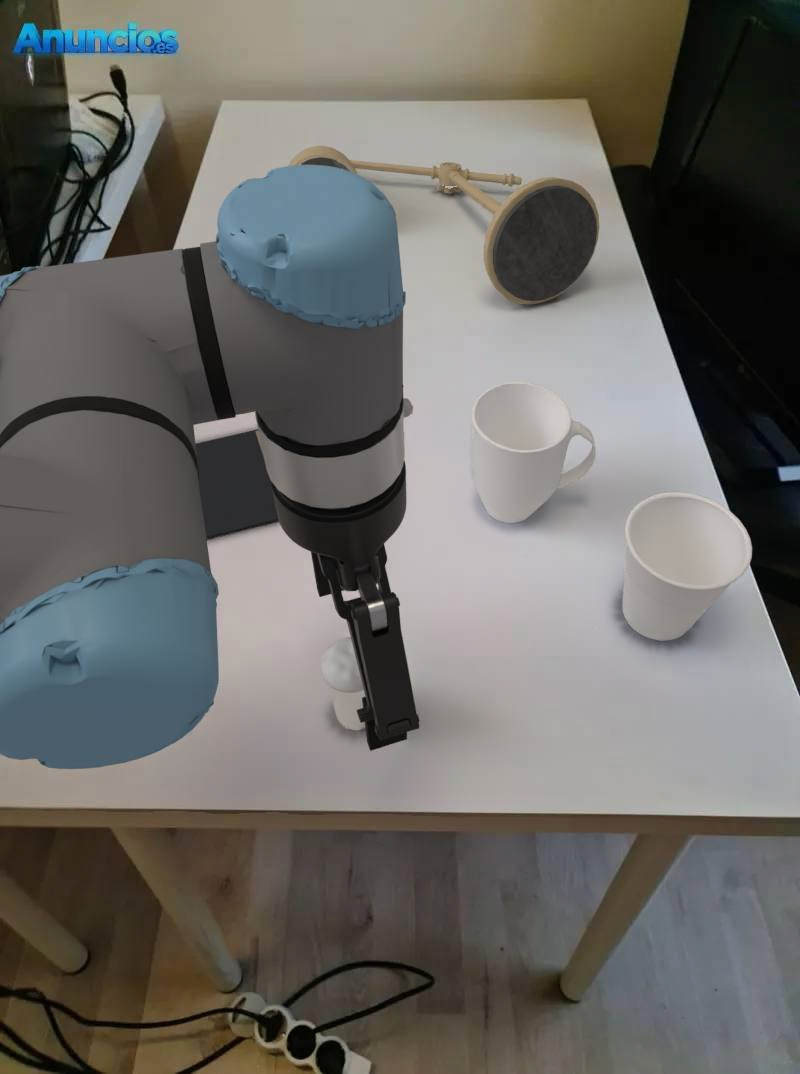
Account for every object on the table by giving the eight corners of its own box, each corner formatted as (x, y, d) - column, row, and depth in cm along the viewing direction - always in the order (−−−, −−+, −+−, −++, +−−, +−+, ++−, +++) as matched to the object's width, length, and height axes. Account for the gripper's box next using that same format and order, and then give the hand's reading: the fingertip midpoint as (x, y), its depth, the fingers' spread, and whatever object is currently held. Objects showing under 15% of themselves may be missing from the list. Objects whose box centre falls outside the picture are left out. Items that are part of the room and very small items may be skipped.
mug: (469, 539, 80) (477, 452, 71) (460, 472, 86) (467, 383, 76) (589, 534, 80) (613, 447, 71) (573, 468, 86) (593, 378, 77)
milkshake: (387, 744, 67) (385, 684, 59) (323, 733, 68) (312, 673, 60) (398, 694, 70) (396, 631, 62) (336, 684, 70) (327, 620, 63)
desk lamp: (626, 176, 96) (479, 96, 124) (339, 196, 85) (250, 103, 114) (599, 298, 105) (469, 198, 134) (339, 330, 95) (257, 214, 123)
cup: (603, 561, 78) (627, 483, 70) (711, 578, 77) (749, 501, 68) (597, 650, 72) (622, 577, 64) (714, 671, 71) (756, 598, 62)
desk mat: (185, 544, 80) (184, 541, 80) (165, 453, 88) (164, 450, 87) (382, 494, 84) (382, 491, 83) (347, 411, 92) (346, 408, 91)
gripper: (487, 628, 39) (466, 798, 55) (341, 316, 53) (359, 524, 70) (331, 674, 37) (358, 835, 54) (226, 341, 52) (272, 547, 69)
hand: (359, 660), depth 62 cm, fingers open, 13 cm apart
